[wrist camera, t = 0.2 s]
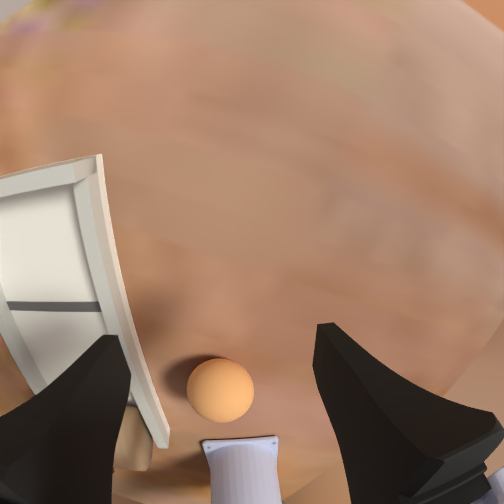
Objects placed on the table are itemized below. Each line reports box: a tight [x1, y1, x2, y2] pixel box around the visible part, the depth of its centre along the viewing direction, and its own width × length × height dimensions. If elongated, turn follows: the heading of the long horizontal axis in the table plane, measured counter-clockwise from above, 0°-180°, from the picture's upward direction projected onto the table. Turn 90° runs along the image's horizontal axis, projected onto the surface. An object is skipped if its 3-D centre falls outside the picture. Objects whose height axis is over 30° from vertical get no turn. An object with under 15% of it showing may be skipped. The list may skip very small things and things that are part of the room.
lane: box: [0, 154, 170, 448], centre depth 19 cm, size 26×12×4 cm, turn 2°
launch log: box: [113, 406, 153, 471], centre depth 21 cm, size 6×10×6 cm, turn 92°
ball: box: [187, 358, 254, 423], centre depth 21 cm, size 5×5×5 cm
